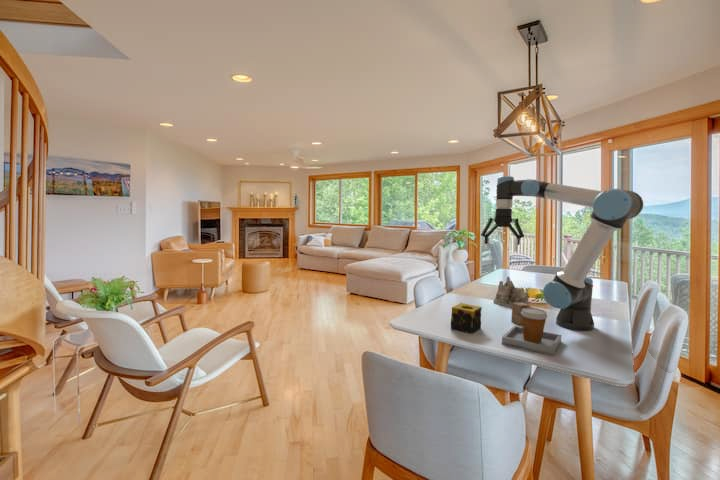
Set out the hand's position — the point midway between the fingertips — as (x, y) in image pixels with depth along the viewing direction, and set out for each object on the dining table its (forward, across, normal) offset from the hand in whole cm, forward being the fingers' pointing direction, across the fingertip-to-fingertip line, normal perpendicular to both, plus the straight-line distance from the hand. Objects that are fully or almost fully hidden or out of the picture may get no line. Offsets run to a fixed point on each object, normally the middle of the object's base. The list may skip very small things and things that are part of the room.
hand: (501, 251), depth 184 cm
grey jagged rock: (+32, -13, -21) cm, 40 cm away
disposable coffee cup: (+31, -2, +40) cm, 51 cm away
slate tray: (+32, -1, +41) cm, 52 cm away
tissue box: (+32, +22, +27) cm, 47 cm away
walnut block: (+32, -6, +15) cm, 35 cm away
